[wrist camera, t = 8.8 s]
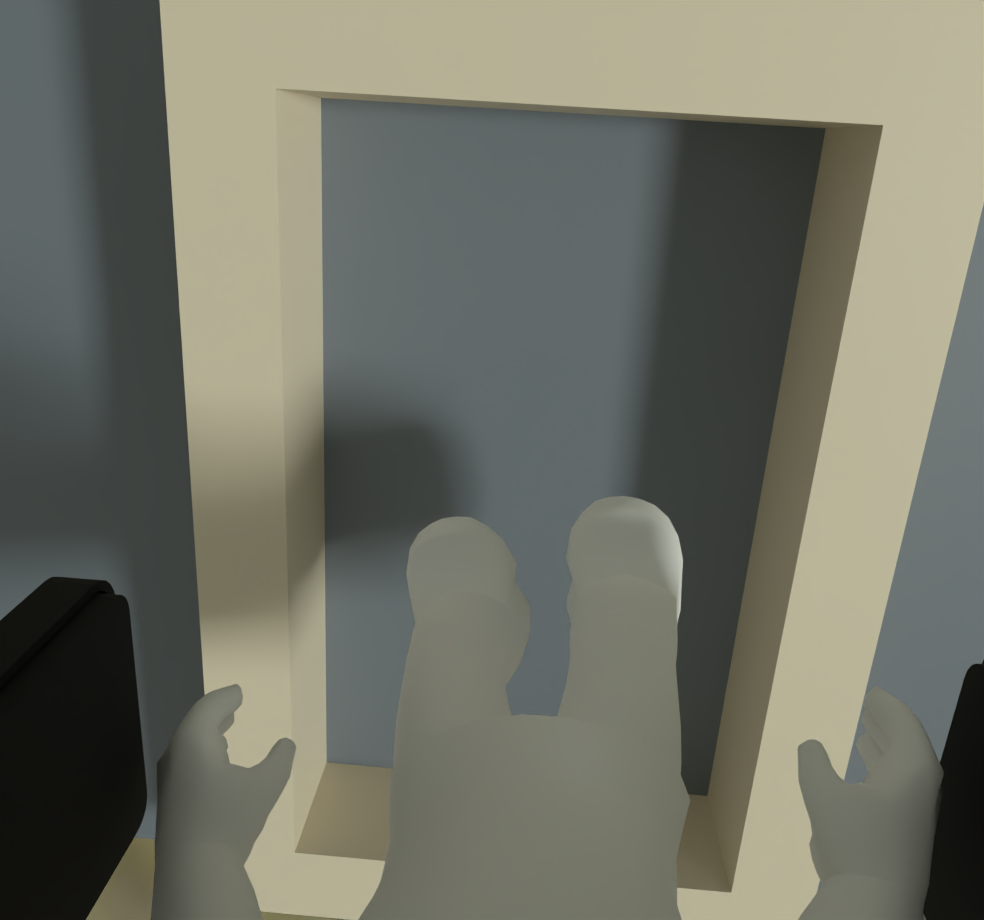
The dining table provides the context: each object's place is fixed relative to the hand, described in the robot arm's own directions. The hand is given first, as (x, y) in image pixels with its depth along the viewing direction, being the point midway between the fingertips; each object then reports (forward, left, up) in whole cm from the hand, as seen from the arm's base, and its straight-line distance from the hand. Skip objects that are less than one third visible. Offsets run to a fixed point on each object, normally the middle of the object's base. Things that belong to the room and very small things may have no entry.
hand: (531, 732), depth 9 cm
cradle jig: (0, 0, -9) cm, 9 cm away
